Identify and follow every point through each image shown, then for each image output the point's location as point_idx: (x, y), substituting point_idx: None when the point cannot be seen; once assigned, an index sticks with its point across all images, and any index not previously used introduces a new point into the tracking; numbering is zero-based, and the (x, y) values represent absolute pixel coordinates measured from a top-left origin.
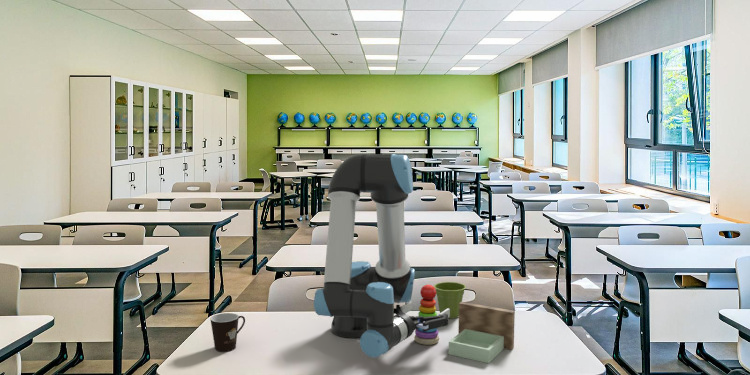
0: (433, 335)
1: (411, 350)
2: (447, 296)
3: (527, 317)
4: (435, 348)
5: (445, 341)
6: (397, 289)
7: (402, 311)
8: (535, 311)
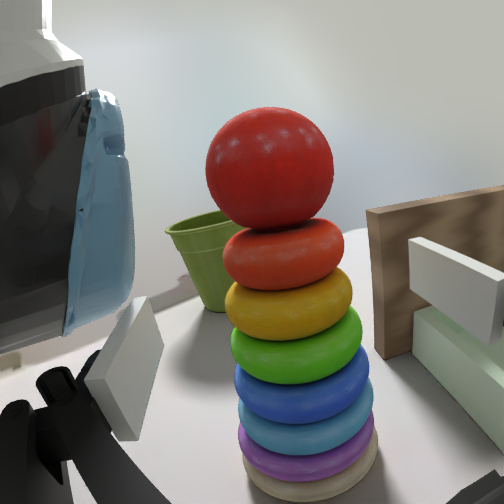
0: (373, 427)
1: None
2: (226, 243)
3: (367, 240)
4: (414, 474)
5: (374, 402)
6: (9, 226)
7: (122, 413)
8: (352, 231)
